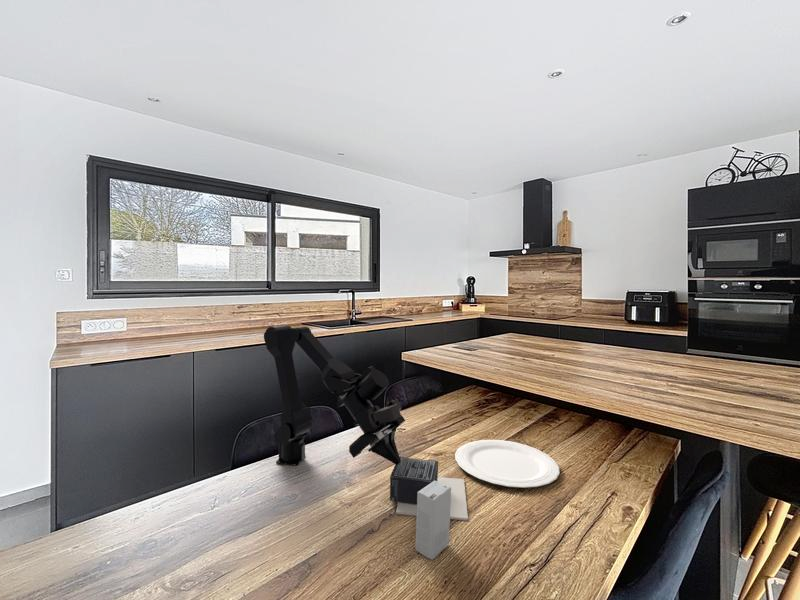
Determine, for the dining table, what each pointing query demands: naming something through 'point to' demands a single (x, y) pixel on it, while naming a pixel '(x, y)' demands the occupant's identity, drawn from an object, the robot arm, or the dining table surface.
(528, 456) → the plate
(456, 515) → the mat
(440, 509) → the skincare box
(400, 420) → the robot arm
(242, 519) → the dining table surface
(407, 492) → the small box
